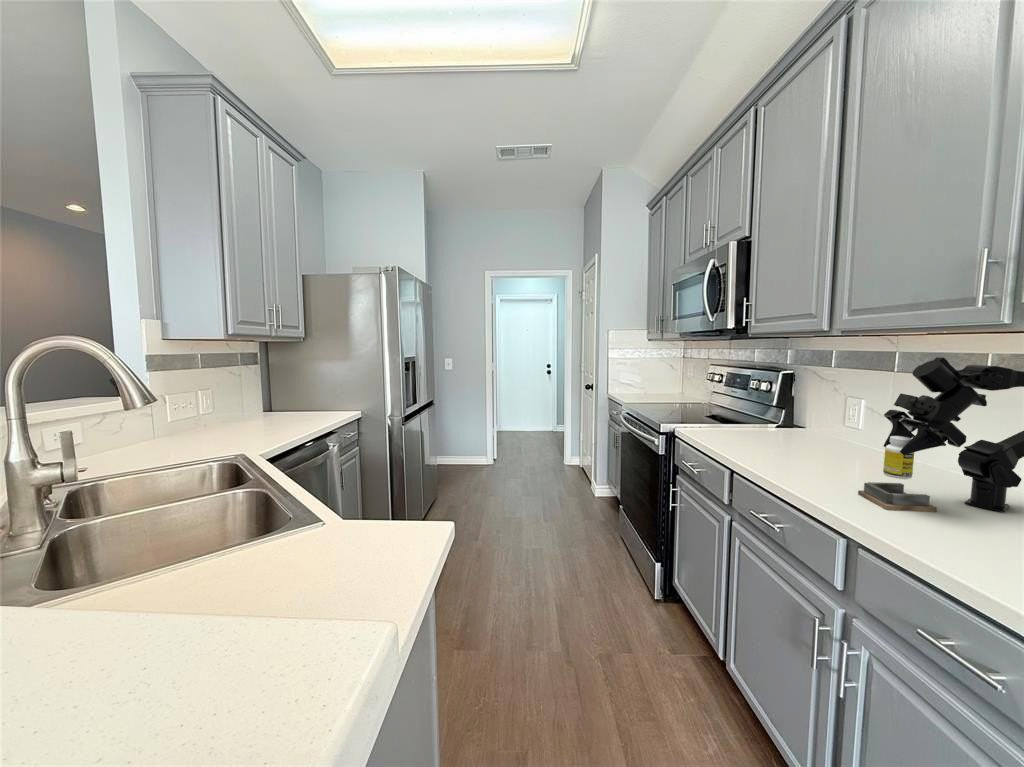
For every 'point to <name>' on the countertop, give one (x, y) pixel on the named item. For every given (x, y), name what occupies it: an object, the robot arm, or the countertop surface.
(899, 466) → the supplement bottle
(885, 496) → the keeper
